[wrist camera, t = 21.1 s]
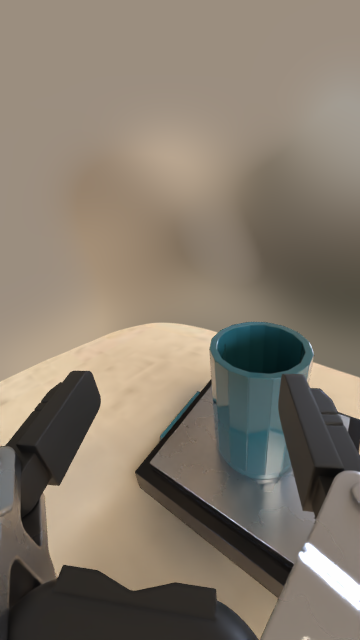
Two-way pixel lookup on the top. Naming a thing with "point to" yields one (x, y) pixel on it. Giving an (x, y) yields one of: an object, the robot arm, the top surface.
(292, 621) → the robot arm
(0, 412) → the top surface
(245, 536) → the scale
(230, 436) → the cup
